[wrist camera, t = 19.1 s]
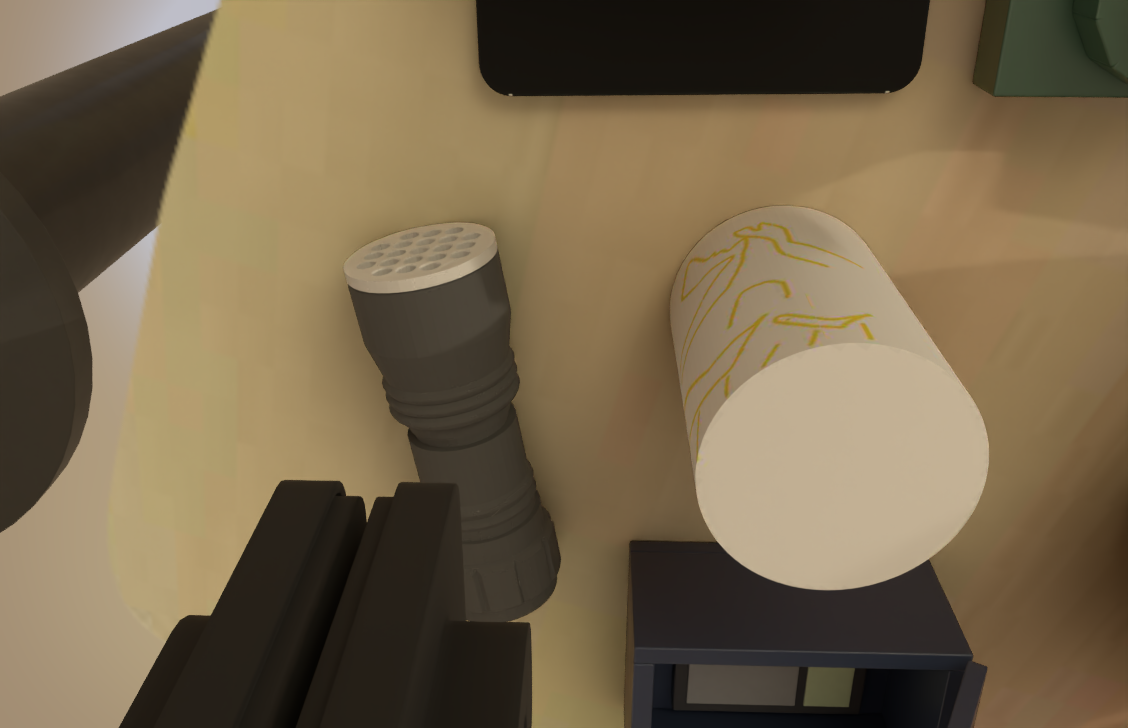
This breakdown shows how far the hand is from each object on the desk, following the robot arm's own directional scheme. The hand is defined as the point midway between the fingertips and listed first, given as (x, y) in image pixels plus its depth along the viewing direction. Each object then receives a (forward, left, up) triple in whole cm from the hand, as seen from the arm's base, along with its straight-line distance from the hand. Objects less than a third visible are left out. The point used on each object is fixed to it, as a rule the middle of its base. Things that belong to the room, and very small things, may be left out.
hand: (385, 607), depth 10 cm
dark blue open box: (+10, -25, -29) cm, 40 cm away
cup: (+9, -9, -29) cm, 32 cm away
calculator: (+10, -25, -28) cm, 39 cm away
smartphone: (+5, +3, -29) cm, 30 cm away
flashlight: (-3, -13, -29) cm, 32 cm away
